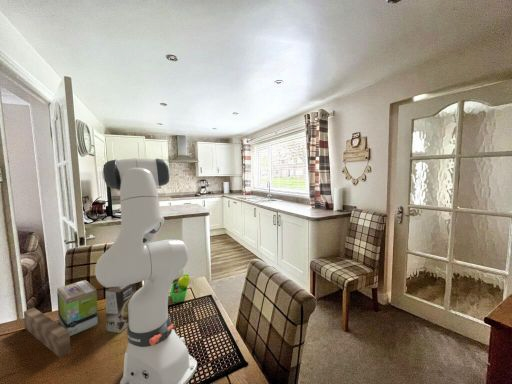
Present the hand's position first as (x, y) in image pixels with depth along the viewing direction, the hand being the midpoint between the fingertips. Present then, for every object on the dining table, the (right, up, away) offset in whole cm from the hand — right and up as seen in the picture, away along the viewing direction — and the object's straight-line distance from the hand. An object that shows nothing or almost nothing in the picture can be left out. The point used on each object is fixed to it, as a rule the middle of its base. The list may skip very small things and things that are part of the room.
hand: (123, 266), depth 105 cm
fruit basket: (+26, -17, +4) cm, 32 cm away
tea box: (-9, -18, -16) cm, 26 cm away
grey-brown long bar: (-14, -18, -25) cm, 34 cm away
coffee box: (+10, -18, -17) cm, 26 cm away
